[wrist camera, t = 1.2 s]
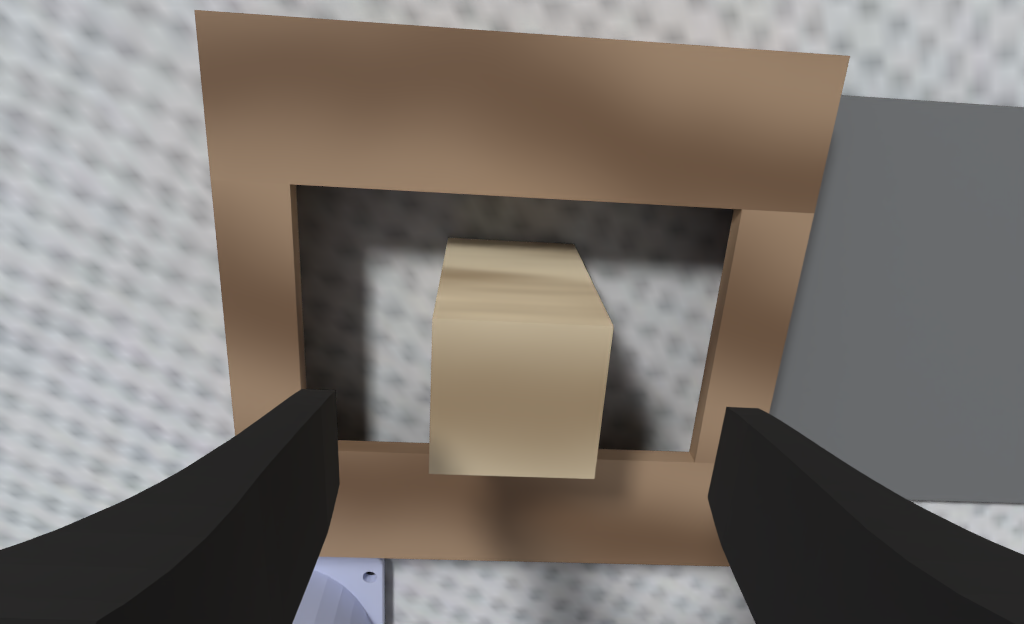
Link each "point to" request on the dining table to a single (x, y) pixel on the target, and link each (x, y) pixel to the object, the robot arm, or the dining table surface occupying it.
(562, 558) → the wooden square frame
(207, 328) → the dining table surface
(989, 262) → the mat
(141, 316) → the dining table surface
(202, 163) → the dining table surface
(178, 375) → the dining table surface
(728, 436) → the robot arm
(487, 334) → the block
